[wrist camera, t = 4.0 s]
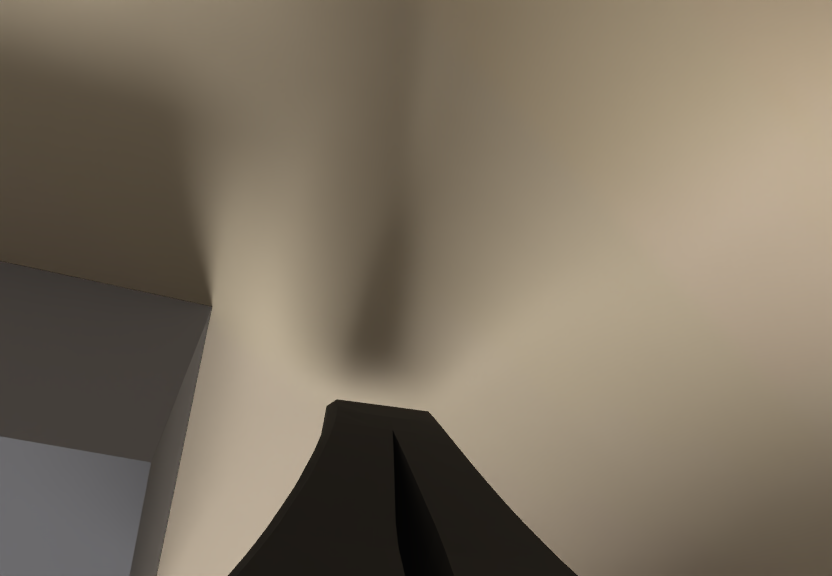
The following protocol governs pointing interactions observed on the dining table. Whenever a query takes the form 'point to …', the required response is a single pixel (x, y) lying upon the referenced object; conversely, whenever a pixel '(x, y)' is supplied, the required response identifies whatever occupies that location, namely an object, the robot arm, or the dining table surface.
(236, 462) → the dining table surface
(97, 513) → the doorstop
